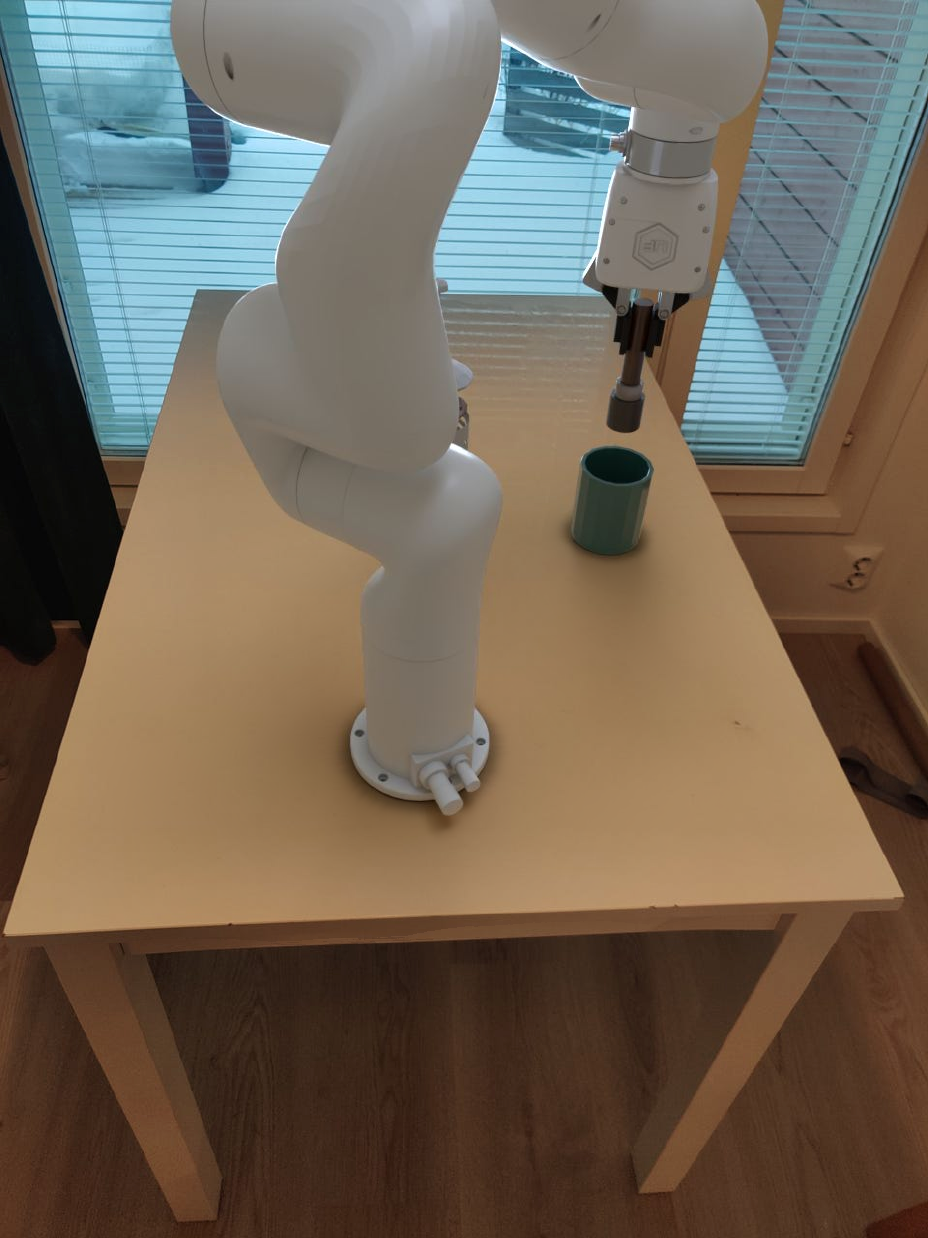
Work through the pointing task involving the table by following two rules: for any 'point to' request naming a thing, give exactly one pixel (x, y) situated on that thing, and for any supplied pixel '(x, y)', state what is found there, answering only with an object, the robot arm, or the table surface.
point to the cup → (611, 499)
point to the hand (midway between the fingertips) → (635, 348)
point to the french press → (459, 386)
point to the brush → (631, 373)
